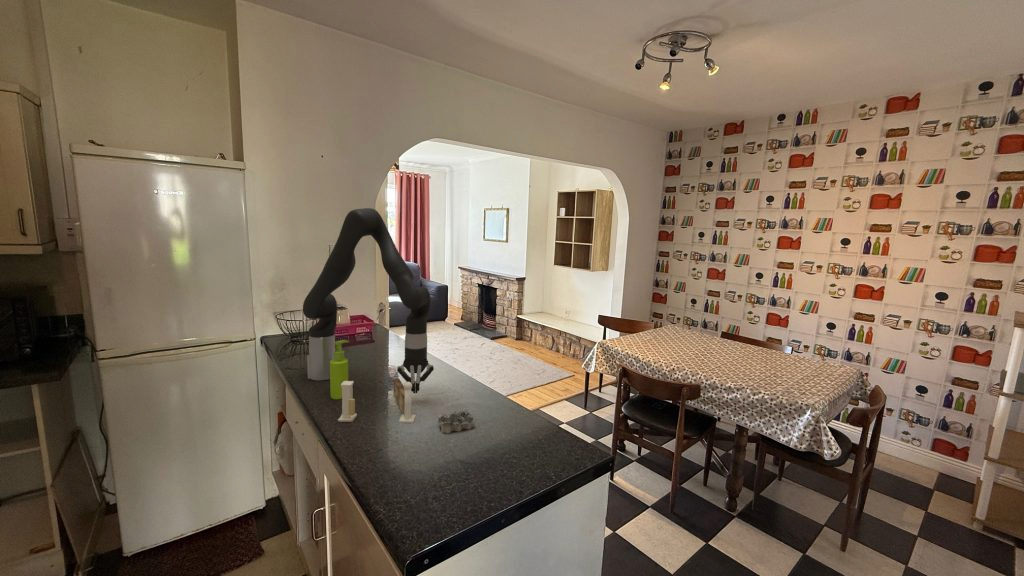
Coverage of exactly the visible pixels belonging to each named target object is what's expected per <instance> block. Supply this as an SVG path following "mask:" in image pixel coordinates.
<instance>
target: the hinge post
mask: <svg viewBox="0 0 1024 576" xmlns="http://www.w3.org/2000/svg"><path fill="white" fill-rule="evenodd" d="M403 385H404V389H405V405H404V414H403V413H402V414H401V416H400V418H399V421H398V423H399V424H400V423H401V424H403V423H404V424H414V421H415V420H416V416H417V415H416V414H411V413H412V391H411V388H412V384H411V383H410V382H406V381H405V383H403Z"/></svg>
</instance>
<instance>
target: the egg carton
mask: <svg viewBox="0 0 1024 576" xmlns="http://www.w3.org/2000/svg"><path fill="white" fill-rule="evenodd" d="M436 419H437V426H438V428H440V429H441V431H440V432H441V433H445V434H451V432H453V431H455V432H460V431H462V430H463V429H466V430H471V429H472V428H473V427H474V422H476V420H475V419H474V417H473V416H472V414H471V412H470V411H469V410H468V409H464V410H462V411H458V412H457V411H454V412H450V413H440V414H439V415H438V416H437V417H436Z"/></svg>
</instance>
